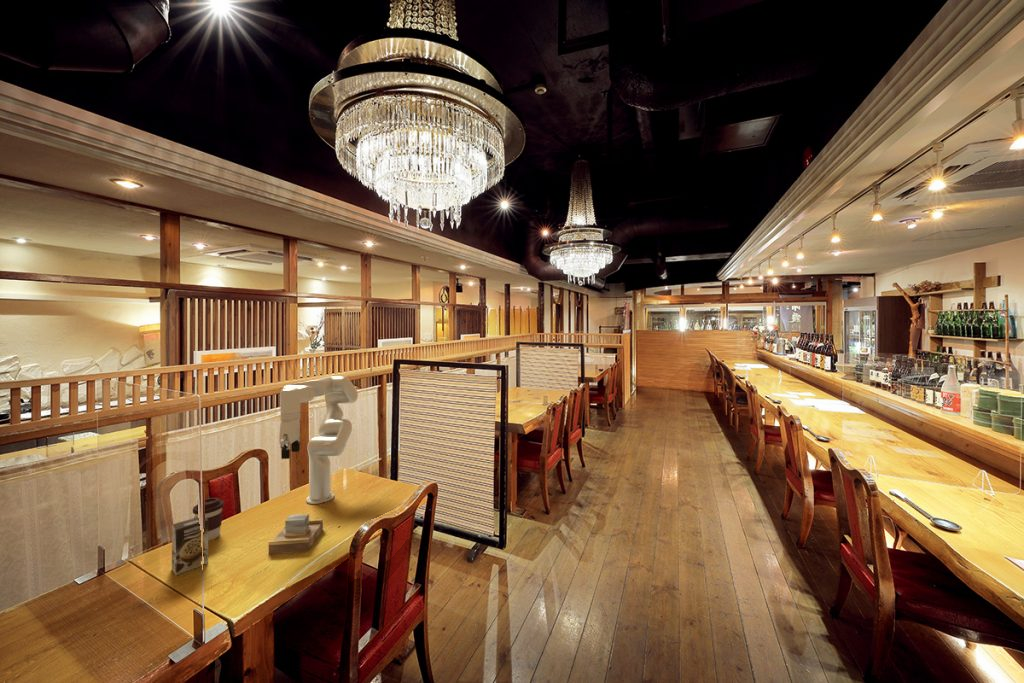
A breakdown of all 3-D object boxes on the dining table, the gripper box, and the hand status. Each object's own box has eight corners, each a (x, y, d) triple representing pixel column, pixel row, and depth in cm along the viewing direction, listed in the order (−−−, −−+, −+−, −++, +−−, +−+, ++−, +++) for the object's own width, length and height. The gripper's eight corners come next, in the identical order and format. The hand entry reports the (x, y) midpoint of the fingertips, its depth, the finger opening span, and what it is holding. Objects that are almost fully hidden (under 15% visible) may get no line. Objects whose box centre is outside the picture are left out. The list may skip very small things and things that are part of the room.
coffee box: (175, 576, 127) (175, 529, 127) (171, 569, 131) (170, 524, 131) (209, 563, 135) (208, 519, 134) (203, 557, 139) (203, 514, 138)
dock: (287, 532, 156) (287, 521, 156) (322, 529, 158) (322, 518, 158) (268, 554, 141) (268, 542, 140) (308, 551, 143) (307, 539, 143)
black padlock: (289, 530, 151) (289, 515, 151) (310, 528, 153) (310, 513, 152) (284, 536, 147) (283, 520, 147) (305, 534, 148) (305, 519, 148)
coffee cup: (210, 544, 147) (210, 506, 147) (186, 544, 147) (185, 506, 147) (230, 531, 157) (229, 496, 157) (207, 530, 157) (206, 495, 157)
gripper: (290, 412, 171) (290, 449, 172) (271, 421, 154) (271, 462, 154) (307, 412, 172) (307, 448, 173) (291, 420, 155) (291, 461, 156)
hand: (290, 454), depth 164 cm, fingers open, 9 cm apart
